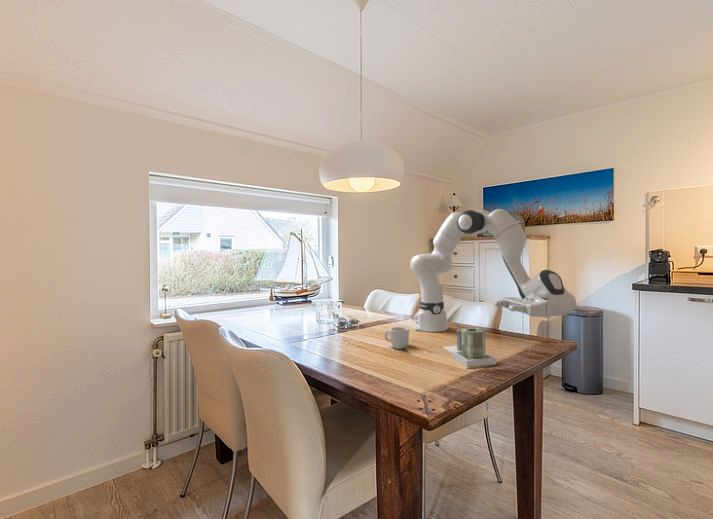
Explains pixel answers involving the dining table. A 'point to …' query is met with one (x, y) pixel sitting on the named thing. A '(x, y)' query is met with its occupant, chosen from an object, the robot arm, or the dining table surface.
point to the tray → (474, 360)
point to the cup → (398, 337)
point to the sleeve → (473, 343)
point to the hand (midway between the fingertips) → (502, 306)
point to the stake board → (451, 348)
